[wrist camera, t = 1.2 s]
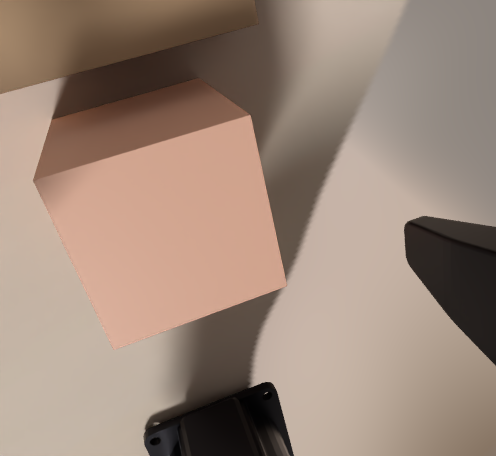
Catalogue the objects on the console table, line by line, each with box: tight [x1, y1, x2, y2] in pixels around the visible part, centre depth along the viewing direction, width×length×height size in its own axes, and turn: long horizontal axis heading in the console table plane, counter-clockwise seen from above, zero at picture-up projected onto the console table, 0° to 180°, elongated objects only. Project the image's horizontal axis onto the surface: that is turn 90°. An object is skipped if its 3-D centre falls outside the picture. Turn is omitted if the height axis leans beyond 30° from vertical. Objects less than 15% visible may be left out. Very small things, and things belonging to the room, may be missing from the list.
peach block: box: [33, 78, 287, 350], centre depth 14 cm, size 5×5×6 cm
